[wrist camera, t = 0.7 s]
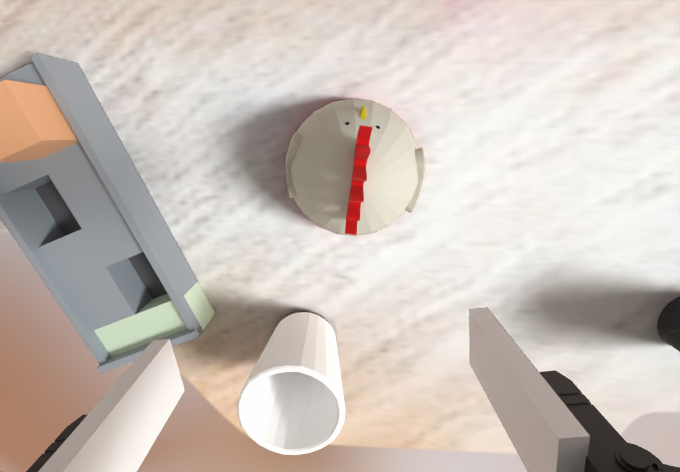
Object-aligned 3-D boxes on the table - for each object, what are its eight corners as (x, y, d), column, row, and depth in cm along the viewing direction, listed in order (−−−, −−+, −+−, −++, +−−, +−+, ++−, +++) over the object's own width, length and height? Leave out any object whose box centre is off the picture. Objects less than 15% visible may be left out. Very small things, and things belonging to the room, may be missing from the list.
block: (8, 108, 34) (-47, 104, 29) (53, 87, 33) (4, 79, 28) (40, 159, 35) (-9, 163, 30) (83, 139, 34) (41, 140, 30)
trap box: (-21, 111, 38) (-81, 107, 32) (77, 63, 36) (32, 51, 31) (129, 345, 45) (101, 373, 40) (215, 312, 44) (198, 337, 39)
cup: (330, 290, 43) (325, 353, 31) (355, 358, 45) (359, 441, 33) (253, 313, 44) (218, 383, 32) (282, 378, 46) (260, 466, 34)
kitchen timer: (428, 109, 37) (482, 95, 23) (405, 236, 41) (439, 292, 27) (294, 92, 37) (263, 66, 22) (284, 221, 41) (251, 270, 26)
